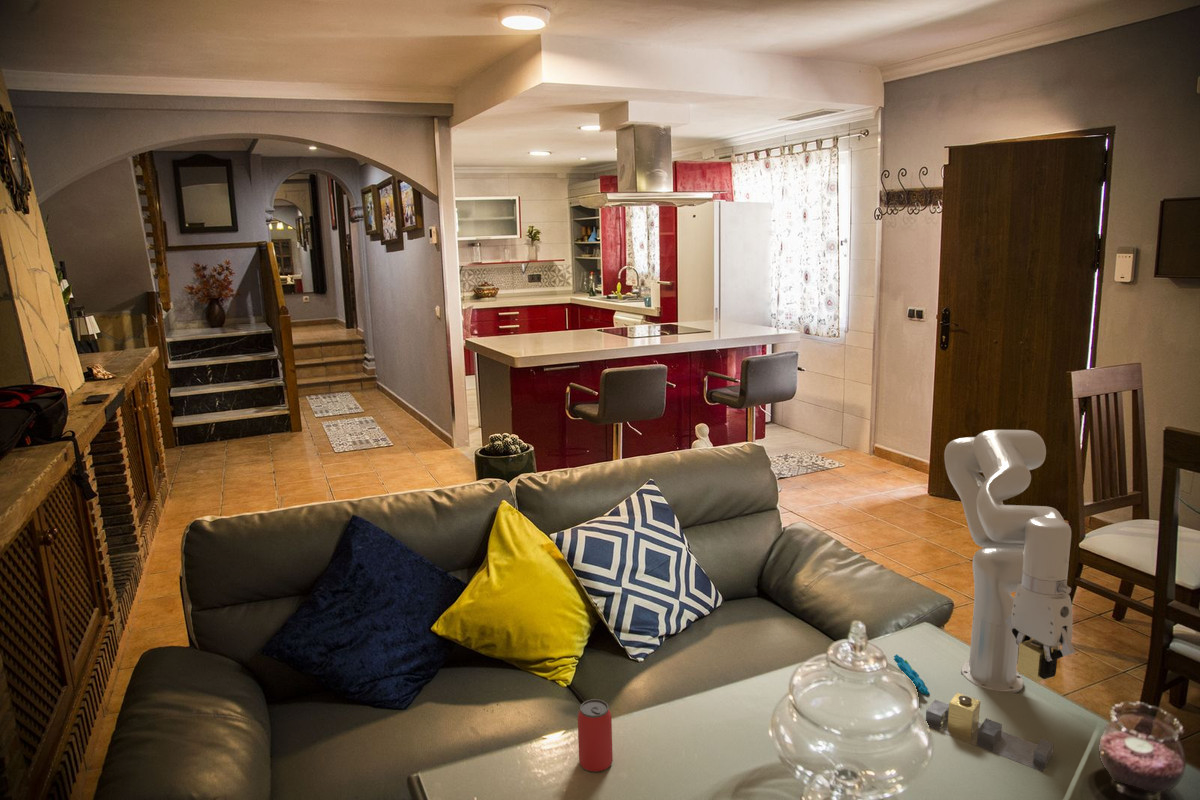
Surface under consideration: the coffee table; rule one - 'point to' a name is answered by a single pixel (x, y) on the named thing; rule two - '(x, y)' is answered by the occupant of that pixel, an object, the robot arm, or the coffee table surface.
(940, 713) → the rail
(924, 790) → the coffee table surface
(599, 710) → the beer can
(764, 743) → the coffee table surface
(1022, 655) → the brass nut block
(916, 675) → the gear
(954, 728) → the seated nut block
